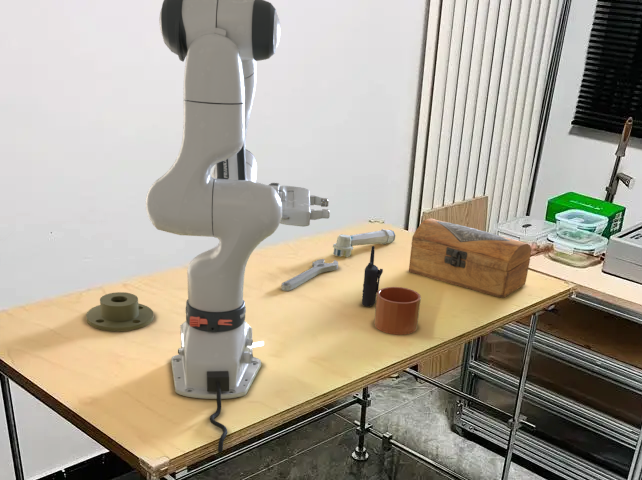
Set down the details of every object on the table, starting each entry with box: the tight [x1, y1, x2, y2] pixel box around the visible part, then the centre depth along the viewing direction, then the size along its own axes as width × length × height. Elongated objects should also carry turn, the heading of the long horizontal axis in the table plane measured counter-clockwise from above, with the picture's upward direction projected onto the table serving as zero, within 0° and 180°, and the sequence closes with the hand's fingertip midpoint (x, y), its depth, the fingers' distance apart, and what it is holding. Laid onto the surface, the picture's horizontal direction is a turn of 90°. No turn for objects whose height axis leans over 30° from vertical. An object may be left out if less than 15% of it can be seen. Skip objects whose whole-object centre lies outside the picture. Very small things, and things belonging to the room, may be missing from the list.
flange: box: [85, 291, 154, 332], centre depth 186 cm, size 5×15×15 cm
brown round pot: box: [373, 286, 422, 336], centre depth 193 cm, size 10×10×8 cm
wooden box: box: [408, 217, 532, 299], centre depth 224 cm, size 30×16×14 cm, turn 55°
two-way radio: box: [361, 245, 384, 308], centre depth 202 cm, size 6×4×15 cm
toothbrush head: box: [332, 228, 396, 258], centre depth 242 cm, size 5×7×25 cm
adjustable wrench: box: [281, 258, 339, 292], centre depth 220 cm, size 25×6×2 cm, turn 147°
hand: (328, 208), depth 193 cm, fingers open, 8 cm apart
